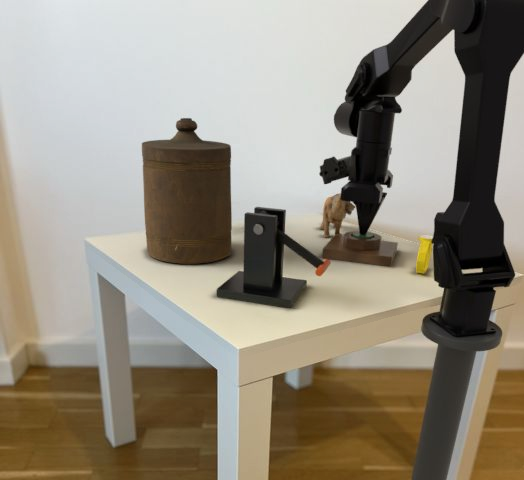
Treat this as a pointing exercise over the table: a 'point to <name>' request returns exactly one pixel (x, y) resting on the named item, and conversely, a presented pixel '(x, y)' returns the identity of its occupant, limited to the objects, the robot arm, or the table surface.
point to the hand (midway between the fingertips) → (362, 234)
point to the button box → (361, 249)
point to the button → (358, 235)
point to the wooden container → (187, 197)
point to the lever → (302, 251)
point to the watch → (424, 253)
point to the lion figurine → (335, 213)
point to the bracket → (263, 264)
